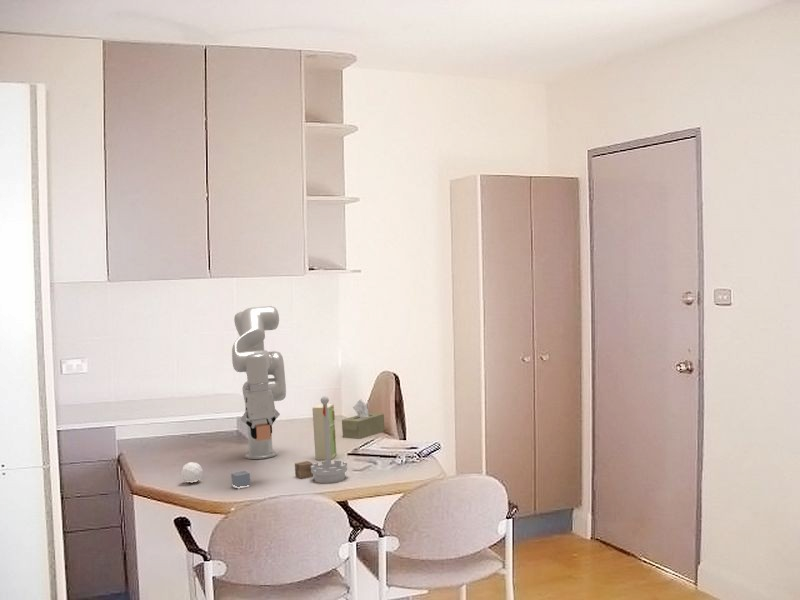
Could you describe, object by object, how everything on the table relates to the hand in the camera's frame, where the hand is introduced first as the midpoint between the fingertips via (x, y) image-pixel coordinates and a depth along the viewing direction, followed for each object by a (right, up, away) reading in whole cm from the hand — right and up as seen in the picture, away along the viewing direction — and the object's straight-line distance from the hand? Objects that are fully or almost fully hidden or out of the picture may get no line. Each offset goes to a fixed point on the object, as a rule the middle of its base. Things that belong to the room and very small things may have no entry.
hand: (261, 436), depth 328 cm
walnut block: (+15, -15, +3) cm, 22 cm away
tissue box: (+34, -11, +75) cm, 83 cm away
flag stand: (+25, -15, -3) cm, 29 cm away
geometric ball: (-26, -18, +3) cm, 32 cm away
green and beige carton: (+21, -13, +31) cm, 40 cm away
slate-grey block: (-6, -17, -7) cm, 19 cm away
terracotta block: (0, -1, 0) cm, 1 cm away
